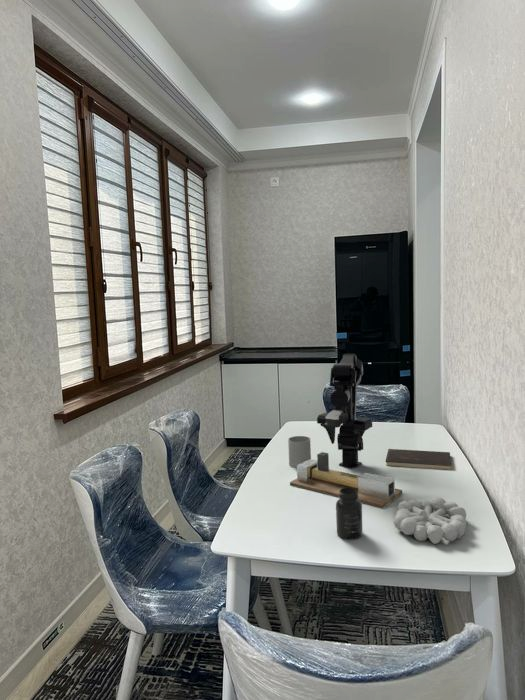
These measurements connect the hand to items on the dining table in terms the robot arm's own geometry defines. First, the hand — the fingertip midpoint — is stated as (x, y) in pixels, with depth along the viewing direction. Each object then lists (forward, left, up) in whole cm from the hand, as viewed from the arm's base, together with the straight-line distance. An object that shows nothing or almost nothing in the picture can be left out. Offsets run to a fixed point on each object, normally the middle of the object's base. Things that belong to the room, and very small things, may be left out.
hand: (344, 445), depth 174 cm
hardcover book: (-32, +13, -13) cm, 37 cm away
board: (+8, +4, -12) cm, 15 cm away
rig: (+8, +4, -11) cm, 14 cm away
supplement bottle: (+35, +21, -12) cm, 43 cm away
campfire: (+19, +37, -12) cm, 43 cm away
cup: (-4, -22, -12) cm, 25 cm away
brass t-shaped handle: (+8, +1, -10) cm, 13 cm away
